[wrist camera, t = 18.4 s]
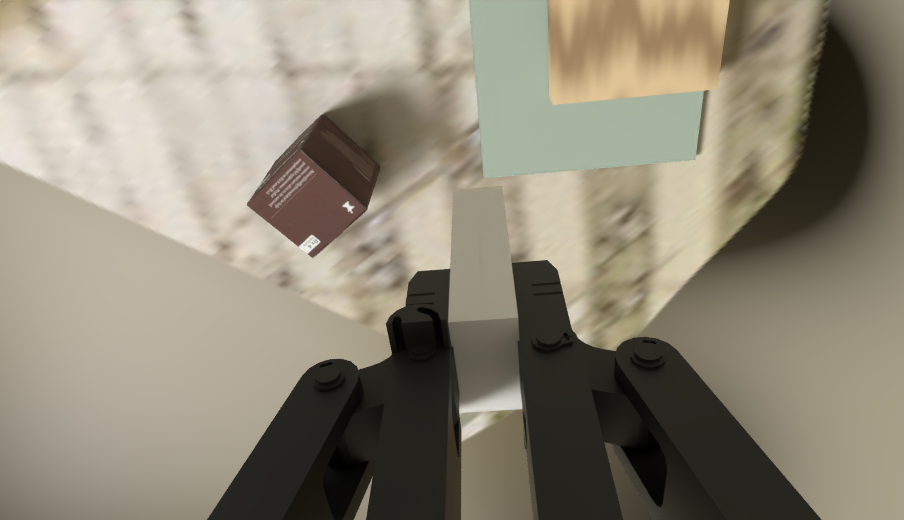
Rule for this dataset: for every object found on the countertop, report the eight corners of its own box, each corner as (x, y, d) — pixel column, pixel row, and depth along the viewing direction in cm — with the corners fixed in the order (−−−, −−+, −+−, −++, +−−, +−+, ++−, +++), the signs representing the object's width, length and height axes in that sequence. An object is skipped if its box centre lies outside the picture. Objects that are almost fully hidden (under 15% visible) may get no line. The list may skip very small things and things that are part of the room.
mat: (458, -129, 36) (458, -130, 35) (730, -163, 35) (734, -164, 34) (483, 175, 46) (483, 178, 46) (692, 156, 45) (695, 159, 45)
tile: (550, -24, 36) (735, -44, 35) (546, -28, 38) (722, -47, 37) (552, 105, 40) (717, 89, 40) (548, 95, 42) (706, 80, 42)
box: (324, 110, 44) (300, 147, 38) (382, 166, 46) (370, 209, 40) (273, 162, 46) (243, 204, 40) (331, 213, 48) (312, 260, 42)
